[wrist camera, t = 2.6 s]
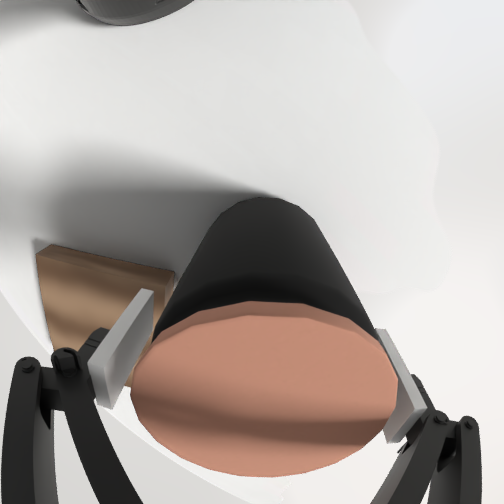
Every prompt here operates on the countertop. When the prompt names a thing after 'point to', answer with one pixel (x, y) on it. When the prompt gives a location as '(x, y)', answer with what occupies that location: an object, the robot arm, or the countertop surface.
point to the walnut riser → (94, 293)
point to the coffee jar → (264, 352)
